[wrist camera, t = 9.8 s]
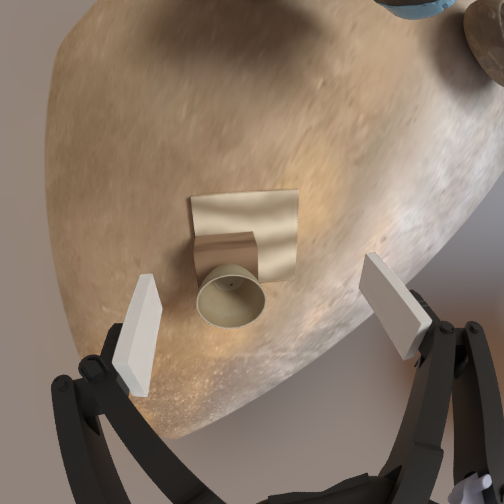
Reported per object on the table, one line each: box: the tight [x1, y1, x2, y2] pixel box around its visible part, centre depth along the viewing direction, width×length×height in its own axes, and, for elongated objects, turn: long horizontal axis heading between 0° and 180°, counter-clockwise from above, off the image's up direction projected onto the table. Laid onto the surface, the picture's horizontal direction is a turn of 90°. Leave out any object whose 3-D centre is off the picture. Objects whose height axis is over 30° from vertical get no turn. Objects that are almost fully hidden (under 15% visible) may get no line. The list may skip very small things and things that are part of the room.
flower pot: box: [196, 264, 266, 329], centre depth 42 cm, size 10×10×7 cm
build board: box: [191, 189, 299, 283], centre depth 50 cm, size 18×18×1 cm
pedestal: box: [193, 231, 258, 289], centre depth 48 cm, size 10×10×6 cm
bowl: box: [463, 0, 504, 87], centre depth 25 cm, size 24×24×15 cm
